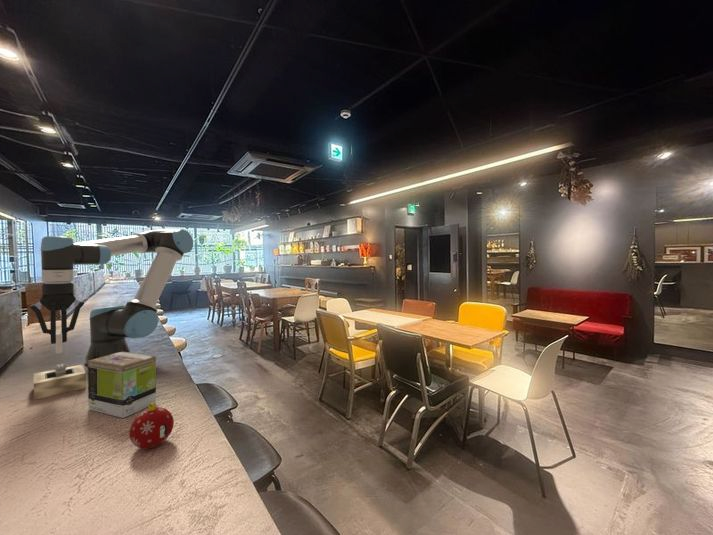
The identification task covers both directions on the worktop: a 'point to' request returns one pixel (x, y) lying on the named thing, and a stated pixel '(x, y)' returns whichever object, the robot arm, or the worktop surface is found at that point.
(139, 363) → the tea box
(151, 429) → the christmas ornament
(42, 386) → the socket block
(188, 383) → the worktop surface
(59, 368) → the rook chess piece
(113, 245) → the robot arm
